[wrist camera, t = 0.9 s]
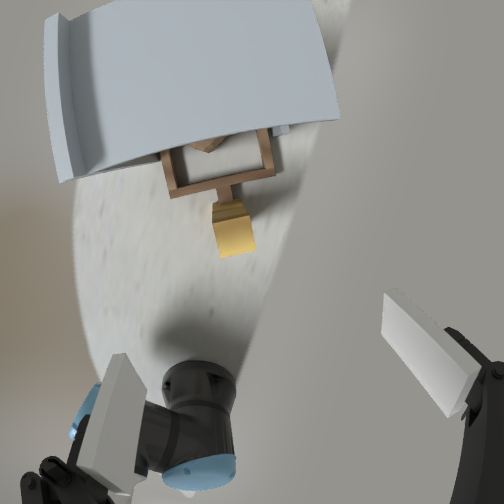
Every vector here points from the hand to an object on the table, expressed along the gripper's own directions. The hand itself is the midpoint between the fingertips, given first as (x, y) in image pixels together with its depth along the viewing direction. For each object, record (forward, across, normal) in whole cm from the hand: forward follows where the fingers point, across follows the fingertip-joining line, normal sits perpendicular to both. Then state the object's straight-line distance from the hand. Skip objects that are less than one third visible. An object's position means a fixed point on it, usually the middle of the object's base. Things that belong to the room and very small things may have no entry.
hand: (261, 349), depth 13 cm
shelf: (+31, 0, -16) cm, 34 cm away
